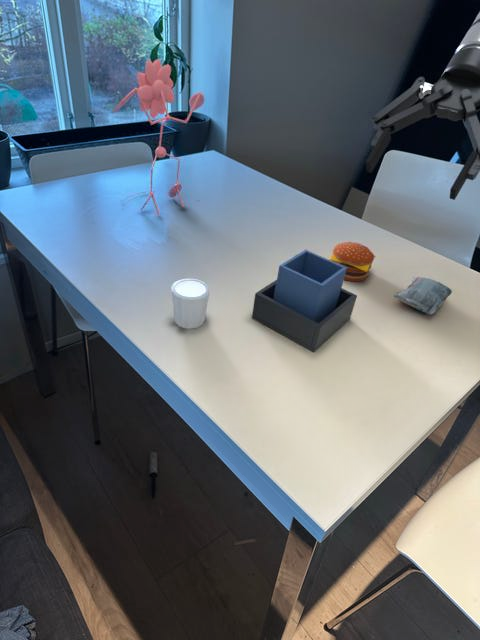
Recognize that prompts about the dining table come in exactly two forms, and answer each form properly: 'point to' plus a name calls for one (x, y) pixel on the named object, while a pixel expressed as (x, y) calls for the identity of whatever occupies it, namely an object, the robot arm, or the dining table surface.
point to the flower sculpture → (159, 108)
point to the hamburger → (353, 260)
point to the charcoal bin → (301, 318)
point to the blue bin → (309, 285)
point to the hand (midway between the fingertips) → (408, 180)
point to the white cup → (190, 302)
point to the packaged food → (424, 294)
